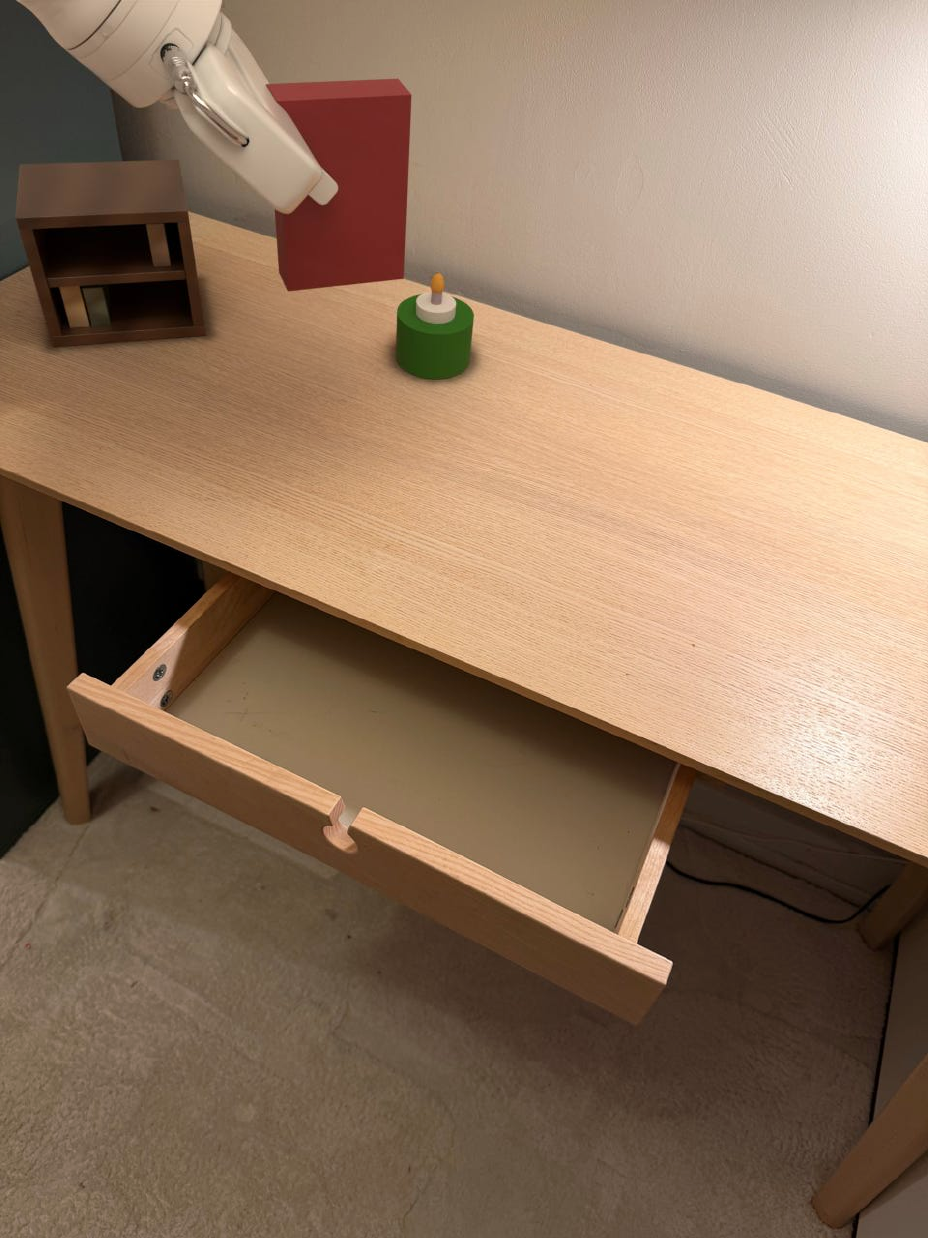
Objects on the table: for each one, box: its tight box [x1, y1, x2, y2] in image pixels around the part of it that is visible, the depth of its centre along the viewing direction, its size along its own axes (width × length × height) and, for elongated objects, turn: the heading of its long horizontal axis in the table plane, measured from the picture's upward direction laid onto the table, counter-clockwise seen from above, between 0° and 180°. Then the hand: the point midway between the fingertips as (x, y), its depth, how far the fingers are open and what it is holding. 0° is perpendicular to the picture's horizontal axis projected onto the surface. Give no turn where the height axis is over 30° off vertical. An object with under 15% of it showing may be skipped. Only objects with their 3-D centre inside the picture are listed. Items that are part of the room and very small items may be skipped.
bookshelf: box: [15, 159, 207, 348], centre depth 98 cm, size 16×12×14 cm
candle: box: [395, 272, 475, 380], centre depth 98 cm, size 8×8×10 cm
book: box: [266, 78, 412, 292], centre depth 64 cm, size 9×3×13 cm, turn 111°
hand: (321, 179), depth 63 cm, fingers closed on book, 3 cm apart
